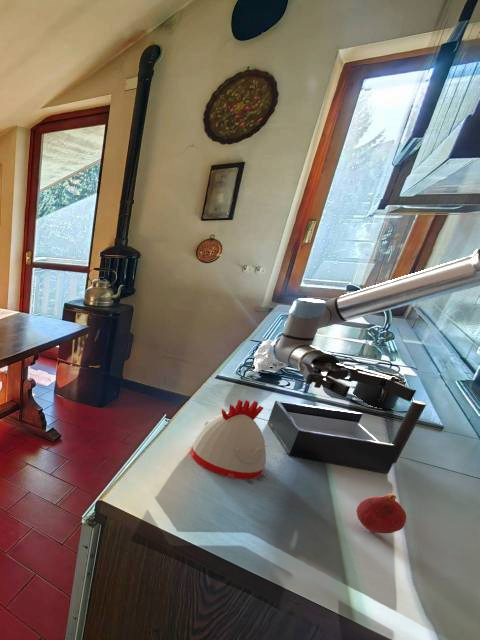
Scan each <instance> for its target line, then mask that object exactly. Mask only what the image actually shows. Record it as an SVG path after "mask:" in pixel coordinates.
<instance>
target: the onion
mask: <svg viewBox="0 0 480 640" xmlns="http://www.w3.org/2000/svg"><path fill="white" fill-rule="evenodd" d="M396 499H397V496H396V495H395V494H394V493H390V492H389V493H387V494H385V495H383V496H382V495H374V496H369V497H366V498H364V499H362V500H361V501H360V503H359V504H358V505H357V507H356V511H355V512H356V515H357V519H358V521H359V522H360V524H361V525H362V526H364V528H366V529H367V530H368V531H369V532H371V533H373V534H392V533H395V532H399V531H401V530H402V529H404V527H405V525H406V522H407V514H406V511H405V509H404V507H402V505H401V504H400V503H399V502H398V501H397V500H396Z"/></svg>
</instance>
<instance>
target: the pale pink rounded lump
mask: <svg viewBox="0 0 480 640" xmlns="http://www.w3.org/2000/svg"><path fill="white" fill-rule="evenodd" d="M273 341H274V340H268V339H267V340H263V341H262V342H261V344H260V346H259V347H258V348H257V350H256V351H255V353H254V354H253V358H254V360H253V365H254V366H255V369H254V370H252V372H254V373H258V372H259V370H273V371H274V370H278V371H280V370H281V368H285V369H287V368H288V366H289V365H287V364H285V363H282V362H281V361H279V360H277V359H276V358H275V357H273V356H272V355H271V353H270V351H269V347H270V344H271V343H272V342H273ZM270 367H273V368H270Z"/></svg>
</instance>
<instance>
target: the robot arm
mask: <svg viewBox="0 0 480 640" xmlns="http://www.w3.org/2000/svg"><path fill="white" fill-rule="evenodd" d="M477 287H480V248H477V249H476V250H475V251H474V252H473V254H471V255H469V256H466V257H462V258H460V259H456V260H453V261H449V262H447V263H443V264H440V265H436V266H434V267H430V268H427V269H424V270H421V271H418V272H415V273H411V274H408V275H404V276H401V277H398V278H395V279H392V280H387V281H385V282H382V283H379V284H376V285H372V286H369V287H366V288H363V289H360V290H357V291H353V292H350V293H347V294H344V295H341V296H338V297H333V298H331V299H327V300H321V299H315V298H301V297H300V298H296V299H295V300H293V302H292V305H291V307H290V309H289V311H288V316H287V319H286V322H285V325H284V328H283V331H282V333H281V335H280V336H278V337H276V338H274V339H273V340H272V341H273V342H272V343H271V344H270V347H269V351H270V353H271V355H272V356H273V357H275V358H276V359H277V360H279V361H281V362H282V363H285V364H287V365H288V366H289V367H291V368H293V369H294V370H296V371H298V372H299V374H301V375H302V377H303V380H304V382H305V383H306V384H308V385H309V384H313V383H314V385H313V387H314V388H316V389H321V387H323V388H325V389H326V390H329V391H331V392H332V393H334V394H336V395H338V396H339V397H341V398H347V396H348V393H349V391H350V389H351V385H349V384H346V383H345V382H342V381H346V382H350V383H351V382H356V383H357V382H361V383H365V384H369V385H373V386H377V387H381V388H383V390H385V391H387V392H389V393H391V394H394V395H396V396H398V397H399V398H400V399H402V400H404V401H406V402H412V401H413V398H414V396H415V394H416V393H417V389H415V388H412V387H410V386H407V385H406V384H405V385H403V384H400V383H399V381H400V379H398V378H396V377H395V376H392V377H391V376H388V375H384V374H380V373H377V372H373V371H374V370H371V371H369V369H365V368H363V367H360V366H357V365H353V366H348V365H345V364H343V363H341V362H340V360H339V358H338V357H337V356H336V355H335V354H332V353H330V352H328V351H325V350H323V349H321V348H319V347H316V346H314V345H313V343H314V340H315V337H316V335H317V333H318V330H319V329H322V328H326V327H331V326H333V325H338V324H341V323H344V322H348V321H351V320H355V319H359V318H364V317H368V316H370V315H371V316H372V315H374V314H378V313H382V312H386V311H390V310H394V309H399V308H400V307H406V306H409V305H413V304H416V303H420V302H424V301H429V300H432V299H435V298H439V297H442V296H447V295H450V294H454V293H455V294H456V293H458V292H461V291H465V290H470V289H473V288H477ZM340 380H341V381H340Z"/></svg>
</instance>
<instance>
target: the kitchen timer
mask: <svg viewBox="0 0 480 640" xmlns="http://www.w3.org/2000/svg"><path fill="white" fill-rule="evenodd" d="M263 410H264V407H263V406H262V405H259V402H258V401H257V400H254V401H253V402H252V403H251V405H250V401H249V400H248V399H246V400H245V401H244V403H243V400H241V399H238V401H237V403H236V405H235V406H234V405H232V404H231V403H230V404H229V410H228V412H227V411H225V409H223V408H222V409H221V414H219V415H217V416H216V417H213V419H211V420H210V421H206V422H205V423H204V425H203V427H202V428H201V430H200V431H199V433H198V434H197V435H196V436H195V438H194V440H193V442H192V446H191V448H190V456H191V458H192V459H193V460H194V461H195V462H196V463H197V464H199V465H200V466H202V467H203V468H204V469H206V470H209V471H211V472H212V473H214V474H217V475H220V476H224V477H227V478H232V479H239V480H253V479H256V478H259V477H260V476H261V475H262V474H263V472H264V469H265V467H266V461H267V457H266V456H267V455H266V444H265V438H264V435H263V432H262V430H261V428H260V427H259V425H258V424H257V423H256V421H255V419H256V418H257V417H258V416H259V415H260V414H261V412H262V411H263Z"/></svg>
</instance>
